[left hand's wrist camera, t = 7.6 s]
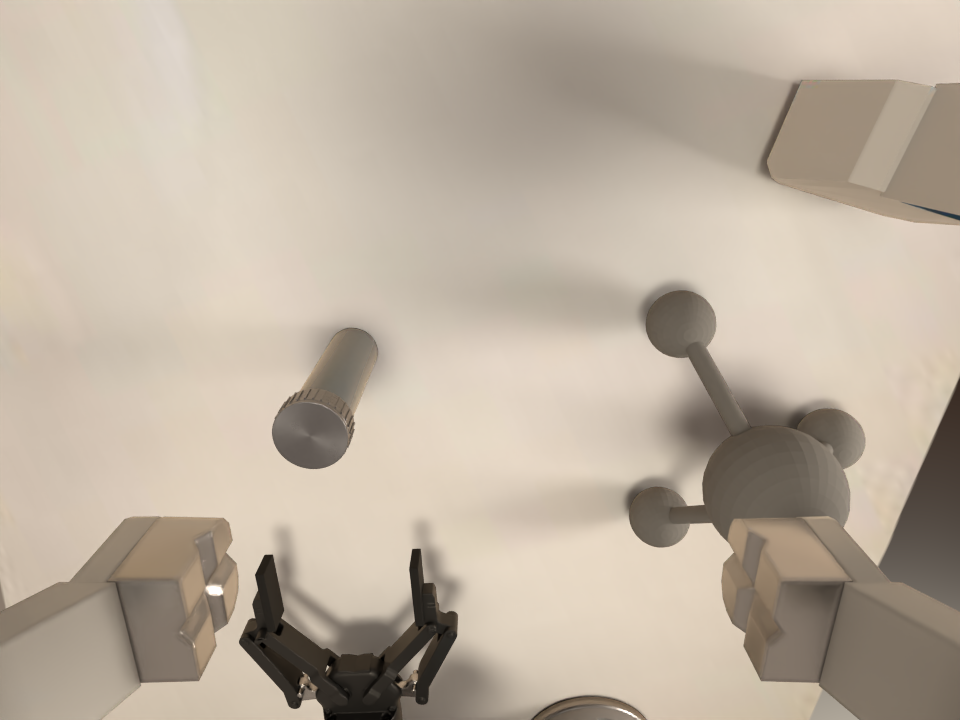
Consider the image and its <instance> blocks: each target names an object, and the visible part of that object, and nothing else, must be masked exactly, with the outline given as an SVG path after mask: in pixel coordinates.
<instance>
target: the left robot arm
mask: <svg viewBox="0 0 960 720" xmlns="http://www.w3.org/2000/svg"><path fill="white" fill-rule="evenodd" d="M232 541H233V540H232V535H231V530H230V525H229V522H227V521H226V520H225V519H224V518H203V517H130V518H127V519H125V520H124V521H123V522H122V523H121V524H120V525H119V526H118V527H117V528H116V530H115V531H114V532H113V533H112V534H111V535H110V536H109V537H108V539H107V540H106V541H105V542H104V543H103V544H102V545H101V547H100V548H99V549H98V550H97V551H96V552H95V553H94V554H93V556H92V557H91V558H90V559H89V560H88V561H87V562H86V563H85V565H84V566H83V567H82V568H81V569H80V570H79V571H78V573H77V574H76V575H75V576H74V577H73V578H72V579H71V580H70V582H58V583H56V584H54V585H52V586H50V587H48V588H46V589H44V590H42V591H41V592H39V593H37V594H35V595H33V596H31V597H29V598H27V599H25V600H23V601H21V602H19V603H17V604H15V605H13V606H11V607H9V608H7V609H5V610H3V611H1V612H0V720H101V719H102V718H103V717H105V716H106V715H107V714H108V713H109V712H110V711H112V710H113V709H114V708H115V707H116V706H118V705H119V704H120V703H121V702H122V701H123V700H125V699H126V698H127V697H128V696H129V695H131V694H132V693H133V692H134V691H135V690H137V689H138V688H139V687H140V686H141V683H148V682H182V681H199V680H200V678H201V676H202V674H203V672H204V670H205V668H206V666H207V664H208V662H209V660H210V658H211V656H212V654H213V652H214V650H215V648H216V640H215V634H214V633H215V632H217V631H218V630H219V629H221V628H222V627H224V626H225V625H226V624H228V622H229V619H230V617H231V615H232V613H233V611H234V608H235V603H236V599H237V594H238V570H237V564H236V562H235V561H234V560H233V559H232V558H231V557H230V556H229V555H228V554H227V553H226V551H227V549H228V548H229V546H230V544H231V542H232ZM727 541H728V542H729V544H730V546H731V548H732V549H733V551H734V553H733V554H732V555H731V556H730V557H729V558H728V559H727V560H726V561H725V562H724V564H723V572H722V580H721V583H722V594H723V600H724V604H725V607H726V611H727V613H728V615H729V617H730V619H731V622H732V624H734V625H735V626H736V627H738V628H739V629H741V630H742V631H743V632H745V633H746V634H745V640H744V648H745V650H746V652H747V654H748V656H749V658H750V660H751V662H752V664H753V666H754V668H755V670H756V672H757V674H758V676H759V678H760V680H761V681H777V682H812V683H819V686H820V687H821V688H823V689H824V690H825V691H826V692H827V693H829V694H830V695H831V696H832V697H833V698H835V699H836V700H837V701H838V702H839V703H840V704H842V705H843V706H844V707H845V708H846V709H847V710H849V711H850V712H851V713H852V714H853V715H855V716H856V717H857V718H858V719H859V720H960V612H959V611H957V610H955V609H953V608H951V607H949V606H947V605H945V604H943V603H941V602H939V601H937V600H935V599H933V598H931V597H929V596H927V595H925V594H923V593H921V592H919V591H917V590H915V589H913V588H911V587H910V586H908V585H906V584H904V583H902V582H890V580H889V579H888V578H887V577H886V576H885V575H884V574H883V573H882V571H881V570H880V569H879V568H878V567H877V566H876V565H875V564H874V562H873V561H872V560H871V559H870V558H869V557H868V556H867V554H866V553H865V552H864V551H863V550H862V549H861V548H860V547H859V545H858V544H857V543H856V542H855V541H854V540H853V539H852V537H851V536H850V535H849V534H848V533H847V532H846V531H845V530H844V528H843V527H842V526H841V525H840V524H839V523H838V522H837V521H836V520H835V519H833V518H831V517H829V516H816V517H796V518H750V519H734V520H733V522H732V524H731V526H730V529H729V534H728V540H727Z"/></svg>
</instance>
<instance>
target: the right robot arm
mask: <svg viewBox="0 0 960 720" xmlns="http://www.w3.org/2000/svg"><path fill="white" fill-rule="evenodd" d="M409 570H410V579H411V588H412V597H413V607H414V616H415V622H414V623H413V624H412V625H411V626H410V627H409V628H408V629H407V631H406V632H405V633H404V634H403V635H402V636H401V637H400V638H399V639H398V640H397V641H396V642H395V643H394V644H393V645H392V647H390V646H389V647H388V648H387V649H386V650H385V651H384V652H383V653H382V654H381V655H380V656H379V657H376V656H373V653H370V654H362V655H358V656H357V655H351V654H343V655H341V657H339V656H337V655H336V654H335V653H333V652H332V651H331V650H329V649H328V648H326V649H322V648H320V647H319V646H318V645H316V644H315V643H314V642H312V641H311V640H310V639H308V638H307V637H306V636H304V635H303V634H302V633H300V632H299V631H297V630H296V629H295V628H293V627H292V626H291V625H289V624H288V623H287V622H285V621H284V620H283V619H281V617H282V614H283V612H284V607H283V602H282V597H281V592H280V588H279V583H278V578H277V573H276V568H275V563H274V558H273V555H264V557H263V559H262V562H261V564H260V566H259V568H258V570H257V572H256V574H255V577H256V581H257V586H258V592H257V594H256V596H255V598H254V601H253V604H252V605H253V609H254V614H255V618H256V619H254V618H252V619H250V620H248V622H247V625H246V627H245V629H244V631H243V634H242V636H241V638H240V640H239V644H240V645H241V646H242V647H243V649H244V650H245V651H246V652H247V653H248V654H249V655H250V656H251V657H252V658H253V659H254V661H255V662H256V663H257V664H258V665H259V666H260V667H261V668H262V669H263V670H264V672H265V673H266V674H267V675H268V676H269V677H270V678H271V679H272V680H273V681H274V683H275V684H276V685H277V686H278V687H279V688H280V689H281V690H282V691H283V692H284V695H285V697H286V700H287V703H288V705H289V707H291V708H293V709H297V708H299V707H300V705H301V702H302V700H310V699H317V701H318V702H319V703H320V704H321V705H322V707H323V712H324V719H325V720H403V719H402V711H401V703H400V697H401V696H413V697H416V702H417V703H418V704H421V705H424V704H426V703H427V702H428V695H429V686H430V684H431V683H432V681H433V679H434V677H435V675H436V674H437V672H438V670H439V668H440V666H441V665H442V663H443V661H444V659H445V657H446V656H447V654H448V652H449V650H450V648H451V646H452V645H453V643H454V641H455V639H456V637H457V626H458V614H457V613H456V612H454V611H449V612H447V613H442V612H441V611H439V604H438V602H437V594H436V587H435V585H434V583H424V578H423V568H422V558H421V549H412V555H411V561H410V568H409ZM433 636H434V637H433ZM432 637H433V639H432V641H431V643H430V645H429V646H428V648H427V650H426V652H425V654H424V656H423V658H422V659H421V662H420V664H419V668H418V670H414V671H413V674H411V675H410V677H409V679H408V680H406V681H403V680H402V678H401V677H400V676H399V675H398V673H399V671H400V670H401V669H402V668H403V667H404V666H405V665H406V664H407V663H408V662H409V661H410V660H411V659H412V658H413V657H414V656H415V655H416V654H417V653H418V652H419V651H420V650H421V649H422V648H423V646H424V645H425V644H426V643H427V642H428V641H429V640H430V639H431V638H432ZM327 665H328V666H329V668H328V670H327V671H326V668H327ZM302 671H303V672H304V673H305V674H303V672H302ZM325 671H326V672H325ZM308 677H310V680H309V679H308ZM310 681H311V682H310ZM533 720H646V719H645V718H644V717H643V716H642V715H641V714H640V713H639V712H638V711H637V710H635V709H634V708H632V707H631V706H629V705H627V704H625V703H622V702H620V701H616V700H613V699H609V698H602V697H581V698H574V699H570V700H566V701H563V702H560V703H557V704H555V705H553V706H551V707H549V708H547V709H546V710H544V711H543V712H541V713H540V714H539V715H538V716H536V717H535V718H534V719H533Z"/></svg>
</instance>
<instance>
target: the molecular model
mask: <svg viewBox="0 0 960 720" xmlns="http://www.w3.org/2000/svg"><path fill="white" fill-rule="evenodd" d="M715 330H716V317H715V313H714V311H713V309H712V307H711V305H710V304H709V303H708V302H707V301H706V300H705V299H704V298H703V297H701V296H700V295H698V294H696V293H693V292H690V291H674V292H670V293H667V294H665V295H663V296H662V297H660V298H659V299H658V300H657V301H655V303H654V304H653V305H652V306H651V308H650V310H649V312H648V315H647V319H646V331H647V334H648V337H649V339H650V341H651V343H652V344H653V345H654V346H655V348H656V349H658V350H659V351H660V352H662V353H663V354H666V355H668V356H671V357H676V358H685V357H689V359H690V360H691V362H692V364H693V366H694V368H695V370H696V371H697V373H698V375H699V377H700V379H701V381H702V382H703V384H704V386H705V388H706V390H707V392H708V393H709V395H710V397H711V399H712V401H713V403H714V404H715V406H716V408H717V410H718V412H719V414H720V415H721V417H722V419H723V421H724V423H725V425H726V426H727V428H728V430H729V432H730V434H731V437H729V438H728V439H727V440H725V441H724V442H723V443H722V444H721V445H720V446H719V447H718V448H717V449H716V450H715V451H714V453H713V455H712V456H711V458H710V459H709V462H708V464H707V467H706V469H705V472H704V477H703V483H702V485H703V501H704V504H705V505H698V506H687V505H686V503H685V501H684V500H683V499H682V497H680V496H679V495H678V494H677V493H676V492H674V491H672V490H670V489H667V488H663V487H652V488H648V489H646V490H644V491H642V492H640V493H639V494H638V495H637V496H636V497H635V499H634V500H633V502H632V504H631V507H630V512H629V519H630V524H631V527H632V529H633V531H634V533H635V534H636V535H637V536H638V537H639V538H640V539H641V540H642V541H643V542H645V543H646V544H648V545H651V546H654V547H669V546H672V545H674V544H676V543H678V542H679V541H681V540H682V539H683V538H684V536H685V535H686V533H687V531H688V528H689V526H690V524H694V523H713V525H714V527H715V528H716V529H717V531H718V532H719V533H720V535H721V536H722V537H723V538H724V539H725V540H726V541H727V540H728V534H729V529H730V526H731V524H732V522H733V520H734V519H750V518H796V517H816V516H829V517H831V518H833V519H835V520H836V521H837V522H838V523H839V524H840V525H841V526H842V527H844V525H845V523H846V521H847V519H848V515H849V511H850V489H849V485H848V481H847V478H846V475H845V473H844V471H843V469H845V468H848V467H850V466H852V465H853V464H854V463H856V462H857V461H858V460H859V458H860V457H861V455H862V454H863V451H864V449H865V434H864V431H863V429H862V427H861V425H860V424H859V423H858V422H857V421H856V419H855V418H853V417H852V416H851V415H849V414H848V413H846V412H843V411H841V410H837V409H819V410H816V411H813V412H811V413H809V414H808V415H807V416H805V417H804V418H803V419H802V420H801V421H800V423H799V424H798V427H797V429H796V430H795V429H793V428H789V427H784V426H757V427H750V425H749V423H748V421H747V419H746V418H745V416H744V414H743V412H742V411H741V409H740V407H739V405H738V404H737V402H736V400H735V398H734V396H733V395H732V393H731V391H730V389H729V388H728V386H727V384H726V382H725V381H724V379H723V377H722V375H721V373H720V372H719V370H718V368H717V366H716V365H715V363H714V361H713V359H712V357H711V356H710V354H709V352H708V350H707V349H706V347H707V346H708V345H709V343H710V342H711V340H712V339H713V337H714V334H715ZM727 542H728V541H727ZM728 543H729V542H728Z"/></svg>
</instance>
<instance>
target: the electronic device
mask: <svg viewBox="0 0 960 720" xmlns="http://www.w3.org/2000/svg"><path fill="white" fill-rule="evenodd" d="M767 165H768V168H769V172H770V175H771V178H772V179H774V180H775V181H777V182H778V183H779V184H783V185H786V186H789V187H792V188H796V189H799V190H802V191H805V192H808V193H812V194H815V195H818V196H821V197H825V198H828V199H831V200H834V201H837V202H841V203H844V204H847V205H850V206H854V207H857V208H860V209H863V210H866V211H870V212H873V213H876V214H879V215H883V216H887V217H892V218H896V219H901V220H906V221H910V222H915V223H931V224H947V225H960V83H949V84H936V86H935V88H934V87H932V86H927V85H922V84H916V83H911V82H906V81H900V80H802V81H801V83H800V86H799V88H798V90H797V92H796V95H795V97H794V99H793V102H792V104H791V106H790V109H789V111H788V113H787V116H786V118H785V120H784V123H783V125H782V127H781V129H780V132H779V134H778V136H777V139H776V141H775V143H774V146H773V148H772V150H771V153H770V155H769V157H768V160H767Z"/></svg>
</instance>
